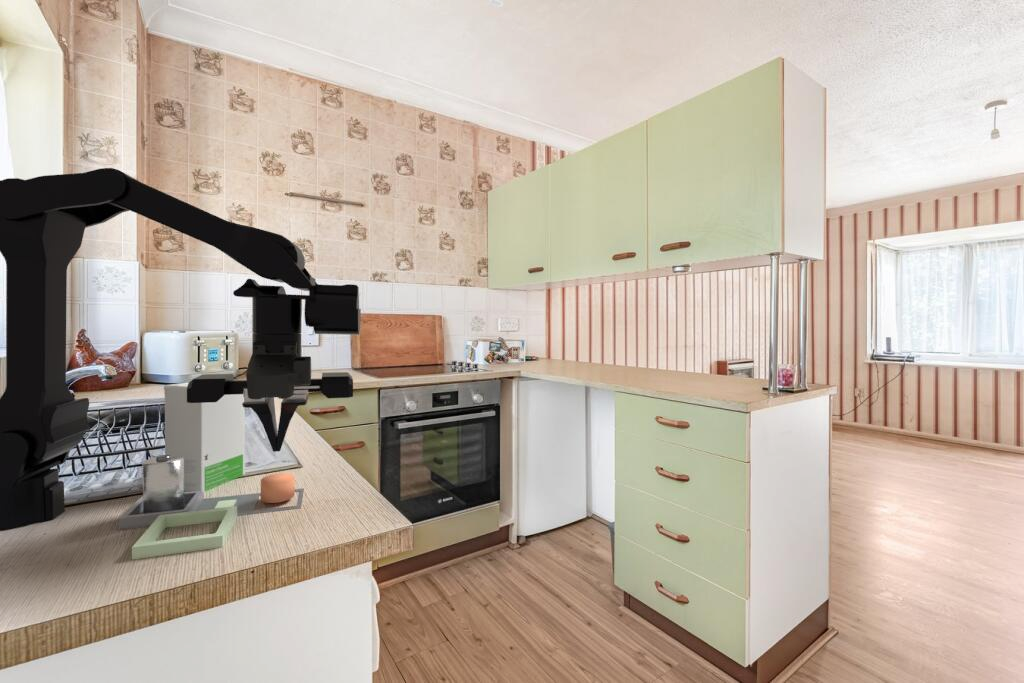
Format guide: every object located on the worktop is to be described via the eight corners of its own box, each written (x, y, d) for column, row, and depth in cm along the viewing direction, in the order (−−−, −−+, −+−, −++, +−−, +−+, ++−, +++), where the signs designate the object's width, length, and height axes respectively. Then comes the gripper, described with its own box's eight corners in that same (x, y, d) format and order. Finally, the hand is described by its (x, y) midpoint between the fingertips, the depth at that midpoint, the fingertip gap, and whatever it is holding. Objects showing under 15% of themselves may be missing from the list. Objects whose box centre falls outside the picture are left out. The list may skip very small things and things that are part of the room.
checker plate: (116, 538, 51) (115, 519, 51) (140, 512, 58) (140, 496, 57) (300, 515, 58) (300, 498, 58) (304, 495, 65) (304, 480, 64)
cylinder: (258, 504, 58) (258, 485, 57) (263, 492, 61) (263, 474, 61) (293, 500, 59) (293, 482, 59) (295, 489, 63) (295, 471, 63)
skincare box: (200, 500, 62) (199, 388, 61) (160, 495, 63) (159, 385, 62) (247, 479, 70) (247, 380, 69) (211, 475, 71) (211, 377, 70)
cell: (137, 522, 53) (136, 462, 53) (150, 508, 57) (149, 452, 56) (178, 517, 54) (177, 459, 54) (188, 504, 58) (187, 450, 58)
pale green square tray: (132, 568, 45) (131, 547, 45) (159, 533, 52) (159, 515, 52) (222, 555, 48) (222, 535, 48) (237, 523, 55) (237, 506, 55)
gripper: (170, 335, 48) (172, 479, 49) (355, 337, 55) (354, 463, 56) (199, 331, 58) (200, 449, 59) (352, 333, 65) (350, 439, 66)
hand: (277, 450), depth 60 cm, fingers closed
